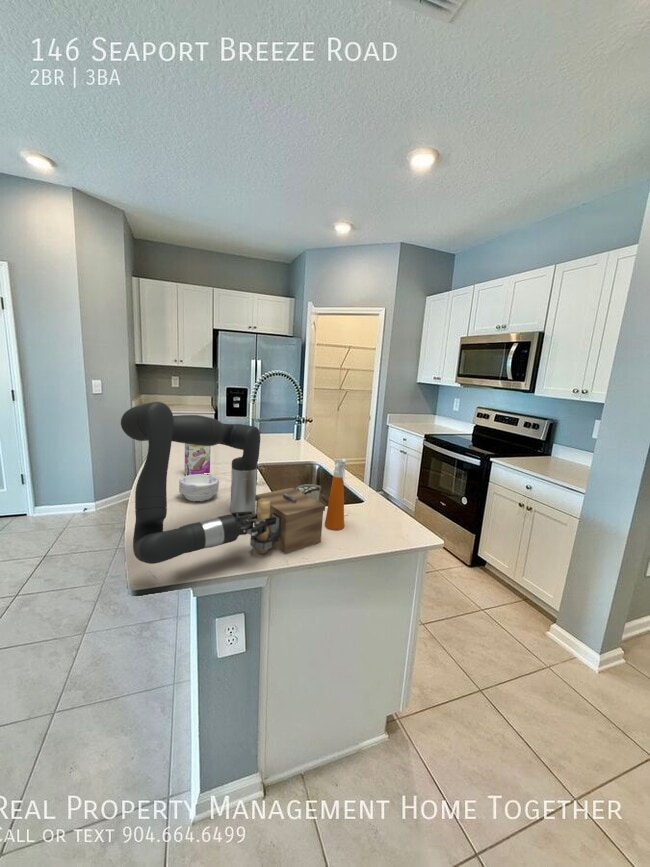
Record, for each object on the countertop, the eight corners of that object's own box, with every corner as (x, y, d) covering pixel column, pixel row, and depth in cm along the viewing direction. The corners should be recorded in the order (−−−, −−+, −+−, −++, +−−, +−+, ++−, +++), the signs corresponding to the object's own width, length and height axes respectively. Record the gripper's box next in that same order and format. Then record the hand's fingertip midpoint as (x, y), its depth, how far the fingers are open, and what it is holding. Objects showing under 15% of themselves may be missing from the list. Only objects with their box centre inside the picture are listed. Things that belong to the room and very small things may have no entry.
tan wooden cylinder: (253, 549, 107) (255, 499, 104) (264, 546, 110) (266, 497, 107) (259, 554, 105) (261, 503, 102) (270, 551, 107) (272, 501, 104)
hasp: (247, 542, 107) (247, 517, 106) (271, 535, 112) (272, 511, 111) (257, 551, 102) (258, 526, 101) (282, 544, 108) (283, 519, 106)
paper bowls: (226, 496, 149) (226, 478, 147) (198, 507, 135) (198, 488, 134) (200, 488, 155) (200, 471, 154) (170, 498, 142) (170, 479, 141)
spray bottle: (330, 536, 120) (336, 461, 115) (322, 522, 130) (327, 452, 126) (350, 534, 122) (356, 461, 117) (340, 521, 132) (346, 453, 128)
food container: (308, 504, 146) (309, 481, 144) (319, 509, 142) (321, 485, 140) (287, 513, 136) (288, 488, 134) (298, 518, 133) (300, 492, 131)
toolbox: (253, 530, 120) (255, 491, 118) (290, 520, 130) (292, 484, 127) (284, 555, 106) (286, 511, 104) (322, 542, 116) (325, 501, 113)
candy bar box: (187, 477, 168) (187, 444, 165) (184, 474, 172) (184, 441, 169) (210, 474, 175) (211, 442, 172) (206, 471, 179) (207, 440, 176)
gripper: (228, 528, 90) (285, 514, 101) (207, 509, 101) (260, 498, 112) (228, 555, 92) (284, 538, 103) (206, 533, 102) (259, 520, 113)
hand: (271, 517), depth 107 cm, fingers closed on tan wooden cylinder, 3 cm apart
